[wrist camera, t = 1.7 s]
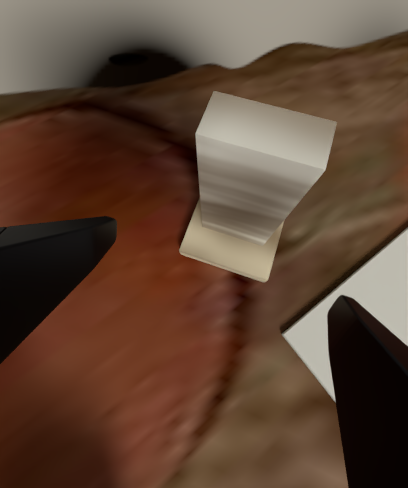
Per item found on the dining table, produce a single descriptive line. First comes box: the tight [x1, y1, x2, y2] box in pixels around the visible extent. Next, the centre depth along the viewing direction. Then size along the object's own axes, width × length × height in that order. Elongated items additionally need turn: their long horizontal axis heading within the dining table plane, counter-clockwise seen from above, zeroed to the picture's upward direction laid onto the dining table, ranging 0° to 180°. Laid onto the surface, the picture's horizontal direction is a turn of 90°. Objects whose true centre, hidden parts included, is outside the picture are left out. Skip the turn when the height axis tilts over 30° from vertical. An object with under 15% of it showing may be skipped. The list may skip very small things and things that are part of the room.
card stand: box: [179, 91, 337, 282], centre depth 16 cm, size 8×8×13 cm
